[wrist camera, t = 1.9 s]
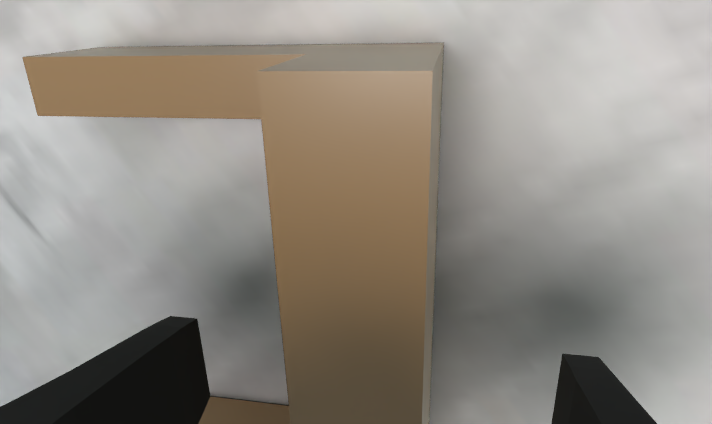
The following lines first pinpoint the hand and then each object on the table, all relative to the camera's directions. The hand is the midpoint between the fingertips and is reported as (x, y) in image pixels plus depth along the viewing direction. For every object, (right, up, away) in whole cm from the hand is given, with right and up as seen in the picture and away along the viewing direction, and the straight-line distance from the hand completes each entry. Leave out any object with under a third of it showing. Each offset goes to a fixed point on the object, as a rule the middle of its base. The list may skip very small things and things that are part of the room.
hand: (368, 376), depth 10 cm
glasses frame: (-2, +2, +4) cm, 5 cm away
